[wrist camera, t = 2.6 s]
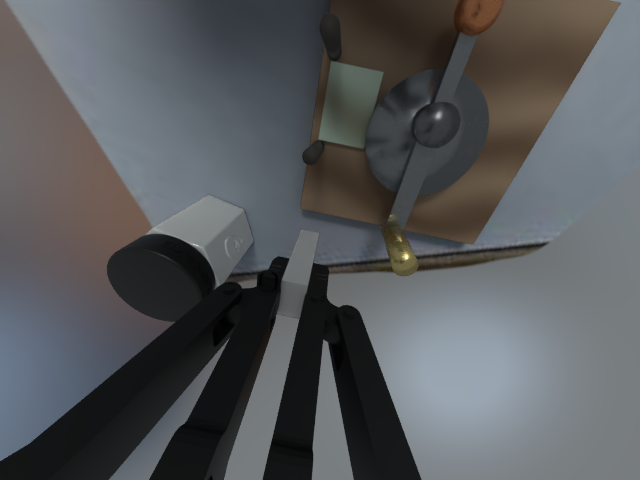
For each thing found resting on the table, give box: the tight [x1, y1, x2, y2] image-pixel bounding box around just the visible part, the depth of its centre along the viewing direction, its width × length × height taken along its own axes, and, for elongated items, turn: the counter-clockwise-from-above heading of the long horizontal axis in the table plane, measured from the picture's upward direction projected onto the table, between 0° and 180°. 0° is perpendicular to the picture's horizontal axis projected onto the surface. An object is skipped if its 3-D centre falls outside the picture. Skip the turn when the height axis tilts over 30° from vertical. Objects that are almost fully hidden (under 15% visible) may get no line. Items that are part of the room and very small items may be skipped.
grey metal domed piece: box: [365, 0, 505, 276], centre depth 17 cm, size 19×10×8 cm, turn 170°
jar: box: [107, 195, 253, 322], centre depth 24 cm, size 9×8×12 cm
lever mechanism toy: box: [300, 0, 621, 245], centre depth 19 cm, size 20×20×8 cm
